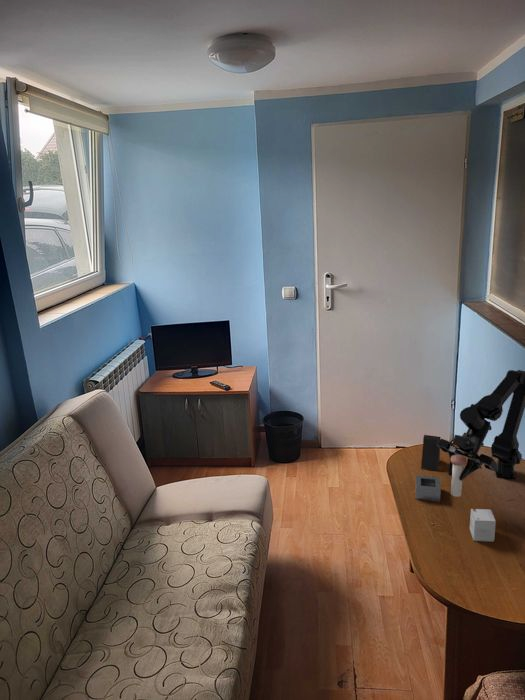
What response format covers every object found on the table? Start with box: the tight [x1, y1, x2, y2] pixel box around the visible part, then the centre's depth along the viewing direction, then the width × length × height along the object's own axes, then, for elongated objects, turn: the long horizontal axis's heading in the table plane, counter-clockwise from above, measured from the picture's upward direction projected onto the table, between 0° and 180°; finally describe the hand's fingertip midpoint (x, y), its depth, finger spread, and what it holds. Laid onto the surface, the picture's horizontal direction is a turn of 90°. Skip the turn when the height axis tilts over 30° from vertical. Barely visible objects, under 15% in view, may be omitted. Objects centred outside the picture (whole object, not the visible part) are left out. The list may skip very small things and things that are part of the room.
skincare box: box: [469, 508, 497, 542], centre depth 158 cm, size 6×6×7 cm
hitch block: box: [415, 475, 442, 502], centre depth 181 cm, size 8×8×4 cm
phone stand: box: [420, 434, 442, 472], centre depth 198 cm, size 9×6×12 cm, turn 156°
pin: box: [450, 455, 467, 498], centre depth 167 cm, size 5×5×13 cm
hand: (454, 477), depth 167 cm, fingers closed on pin, 3 cm apart
